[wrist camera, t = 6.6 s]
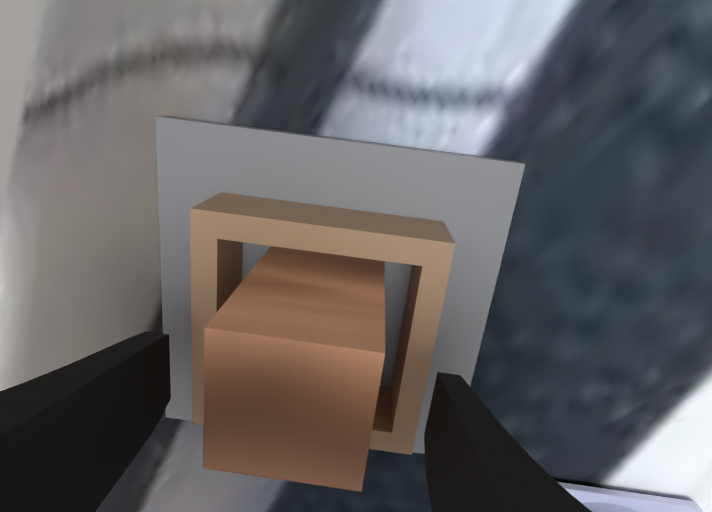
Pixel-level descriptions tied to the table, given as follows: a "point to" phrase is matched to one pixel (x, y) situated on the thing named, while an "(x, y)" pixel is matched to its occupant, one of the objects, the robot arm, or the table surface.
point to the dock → (333, 246)
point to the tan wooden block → (296, 369)
